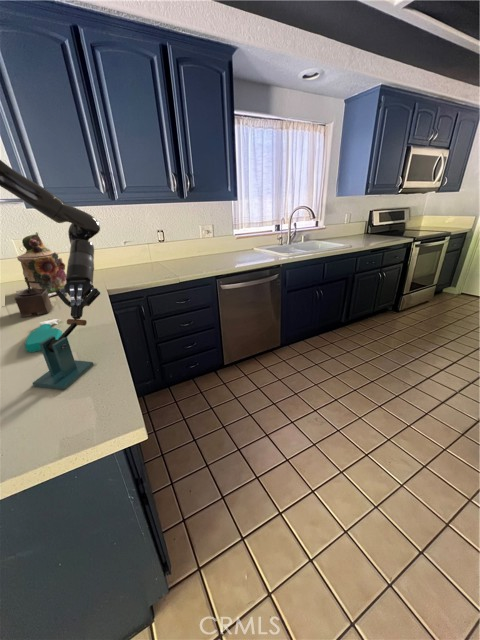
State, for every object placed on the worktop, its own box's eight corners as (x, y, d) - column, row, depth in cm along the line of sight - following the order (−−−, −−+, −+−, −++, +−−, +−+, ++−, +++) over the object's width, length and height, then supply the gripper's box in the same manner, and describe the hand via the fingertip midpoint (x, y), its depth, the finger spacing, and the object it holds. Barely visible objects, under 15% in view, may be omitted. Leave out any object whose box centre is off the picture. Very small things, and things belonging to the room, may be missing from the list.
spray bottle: (24, 354, 89) (34, 327, 109) (61, 346, 94) (65, 321, 114) (21, 346, 88) (32, 320, 108) (59, 338, 93) (63, 315, 113)
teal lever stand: (65, 362, 85) (54, 329, 80) (93, 365, 83) (84, 331, 78) (33, 386, 74) (18, 350, 69) (65, 389, 73) (51, 353, 68)
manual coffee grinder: (20, 318, 117) (5, 278, 109) (27, 309, 126) (13, 272, 119) (61, 312, 123) (49, 274, 115) (64, 304, 132) (53, 268, 124)
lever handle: (72, 322, 84) (68, 316, 82) (87, 323, 83) (84, 317, 81) (45, 351, 75) (40, 346, 73) (62, 353, 74) (58, 347, 72)
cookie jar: (14, 294, 147) (-9, 234, 133) (58, 282, 167) (42, 229, 153) (41, 300, 137) (19, 236, 123) (84, 287, 157) (69, 231, 144)
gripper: (52, 264, 83) (45, 315, 77) (97, 262, 85) (93, 312, 79) (65, 276, 90) (59, 324, 84) (106, 274, 92) (103, 320, 86)
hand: (76, 318), depth 82 cm, fingers closed
